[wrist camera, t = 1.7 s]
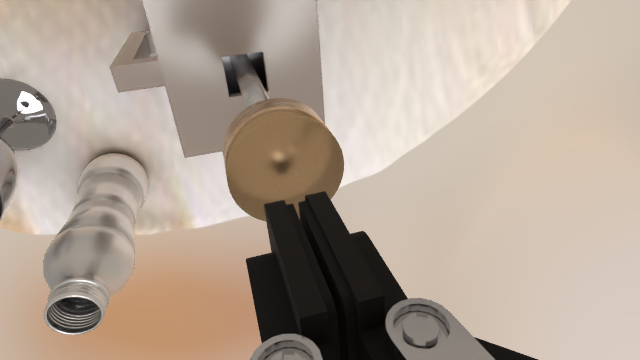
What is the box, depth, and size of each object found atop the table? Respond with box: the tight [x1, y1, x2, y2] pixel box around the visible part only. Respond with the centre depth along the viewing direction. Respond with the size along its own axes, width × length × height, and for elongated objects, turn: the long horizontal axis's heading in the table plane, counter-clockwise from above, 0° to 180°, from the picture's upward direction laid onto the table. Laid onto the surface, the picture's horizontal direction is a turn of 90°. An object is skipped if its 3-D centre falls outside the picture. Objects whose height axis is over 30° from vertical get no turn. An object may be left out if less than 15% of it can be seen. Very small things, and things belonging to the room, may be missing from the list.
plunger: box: [222, 52, 344, 221], centre depth 22 cm, size 7×7×19 cm
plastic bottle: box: [43, 153, 148, 335], centre depth 36 cm, size 6×7×20 cm
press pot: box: [110, 0, 325, 158], centre depth 32 cm, size 12×9×19 cm
